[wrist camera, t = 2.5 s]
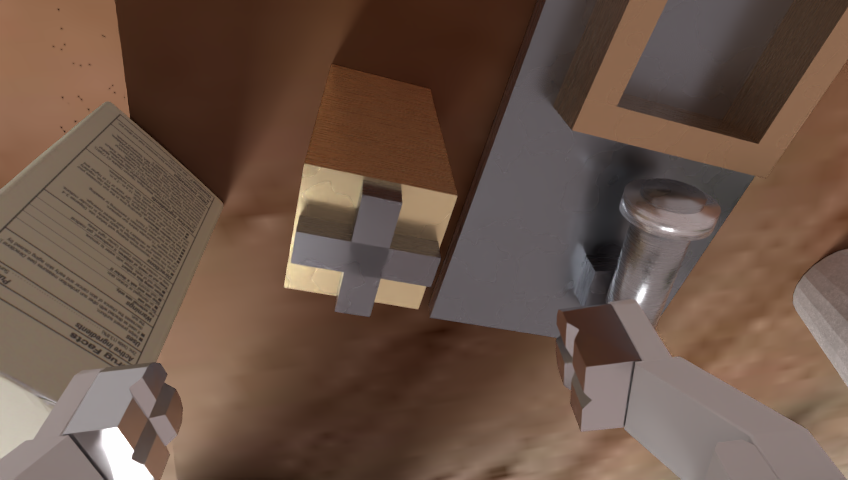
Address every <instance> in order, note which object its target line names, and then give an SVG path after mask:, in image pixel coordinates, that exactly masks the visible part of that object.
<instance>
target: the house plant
mask: <svg viewBox="0 0 848 480" xmlns="http://www.w3.org/2000/svg"><path fill="white" fill-rule="evenodd" d="M793 304H794V307H795V309H796V311H797V313H798V314H799V315H800V317H801V318H802V320H803V321H804V323H805V324H806V326H807V327H808V329H809V330H810V332H811V333H812V335H813V336H814V338H815V339H816V341H817V342H818V344H819V345H820V347H821V348H822V350H823V351H824V353H825V354H826V355H827V357H828V358H829V360H830V361H831V363H832V364H833V366H834V367H835V369H836V370H837V372H838V373H839V375H840V376H841V378H842V379H843V381H844V382H845V384H846V385H847V387H848V249H845V250H841V251H837V252H835V253H833V254H831V255H829V256H827V257H825V258H824V259H822V260H821V261H820V262H818V263H817V264H815V265H814V266H813V267H812V268H811V269H810V270H809V271H808V272H807V273H806V274H805V275H804V276H803V277H802V279H801V280H800V281H799V283H798V284H797V286H796V289H795V292H794V294H793Z"/></svg>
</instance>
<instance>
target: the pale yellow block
mask: <svg viewBox="0 0 848 480" xmlns="http://www.w3.org/2000/svg"><path fill="white" fill-rule="evenodd" d="M457 196H458V195H457V191H456V187H455V184H454V180H453V176H452V172H451V168H450V164H449V160H448V156H447V153H446V149H445V145H444V141H443V137H442V133H441V129H440V125H439V122H438V118H437V114H436V110H435V106H434V102H433V98H432V94H431V91H430V89H429V88H425V87H421V86H417V85H413V84H409V83H405V82H401V81H397V80H393V79H389V78H385V77H381V76H377V75H373V74H369V73H365V72H361V71H357V70H353V69H349V68H345V67H341V66H337V65H333V64H331V68H330V71H329V75H328V79H327V82H326V86H325V90H324V93H323V97H322V101H321V104H320V108H319V112H318V115H317V119H316V123H315V126H314V130H313V134H312V137H311V141H310V145H309V148H308V152H307V155H306V159H305V163H304V168H303V174H302V181H301V187H300V193H299V199H298V205H297V211H296V217H295V223H294V229H293V235H292V241H291V247H290V253H289V260H288V266H287V272H286V278H285V284H284V288H290V289H296V290H302V291H308V292H314V293H321V294H327V295H333V296H336V304H335V312H340V313H347V314H353V315H360V316H366V317H370V315H371V312H372V308H373V305H374V302H376V303H383V304H389V305H395V306H401V307H407V308H414V309H419V306H420V303H421V300H422V297H423V294H424V292H425V289H426V287H431V285H432V282H433V280H434V277H435V274H436V271H437V268H438V265H439V263H440V260H441V255H440V249H439V248H440V245H441V243H442V240H443V237H444V234H445V231H446V228H447V225H448V222H449V219H450V217H451V214H452V211H453V208H454V205H455V202H456V199H457Z"/></svg>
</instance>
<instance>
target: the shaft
mask: <svg viewBox="0 0 848 480" xmlns="http://www.w3.org/2000/svg"><path fill="white" fill-rule="evenodd" d="M619 209H620V212H621V214H622V216H623V217H624V218H625V219H626V220H627V221H628V222H630V224H629V227H628V231H627V234H626V237H625V240H624V243H623V246H622V249H621V252H620V255H586V257H585V261H584V264H583V268H582V271H581V275H580V279H579V282H578V286H577V289H576V293H575V295H576V297H577V299H578V301H579V303H580V305H581V306H587V305H594V304H601V303H608V302H614V301H621V300H628V299H634V300H636V301H637V302H638V304H639V305H640V307H641V308H642V310H643V312H644V313H645V315H646V316H647V318H648V320H649V321H650V323H651V324H652V326H653V328H654V329H655V328H656V325H657V323H658V320H659V318H660V315H661V313H662V310H663V308H664V306H665V303H666V301H667V298H668V296H669V293H670V291H671V288H672V286H673V283H674V281H675V278H676V276H677V273H678V271H679V268H680V266H681V263H682V261H683V258H684V256H685V254H686V251H687V249H688V246H689V244H690V241H693V240H700V239H703V238H706V237H708V236H709V235H710V234H712V232H713V230H714V227H715V225H716V223H717V220H718V218H719V216H720V213H721V208H720V206H719V204H718V203H717V202H716V201H715V200H714V199H713V198H712V197H711V196H709V195H708V194H706V193H704V192H703V191H701V190H699V189H697V188H695V187H694V186H692V185H689V184H687V183H684V182H681V181H677V180H672V179H665V178H643V179H637V180H633V181H631V182H629V183H628V184H627V185H626V186H625V189H624V192H623V195H622V199H621V202H620V206H619Z"/></svg>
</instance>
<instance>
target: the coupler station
mask: <svg viewBox="0 0 848 480" xmlns="http://www.w3.org/2000/svg"><path fill="white" fill-rule="evenodd" d="M847 60H848V0H537V2H536V5H535V8H534V11H533V14H532V16H531V19H530V22H529V25H528V28H527V30H526V33H525V36H524V39H523V42H522V44H521V47H520V50H519V53H518V56H517V58H516V61H515V64H514V67H513V70H512V72H511V75H510V78H509V81H508V84H507V86H506V89H505V92H504V95H503V98H502V100H501V103H500V106H499V109H498V111H497V114H496V117H495V120H494V123H493V125H492V128H491V131H490V134H489V137H488V139H487V142H486V145H485V148H484V151H483V153H482V156H481V159H480V162H479V165H478V167H477V170H476V173H475V176H474V179H473V181H472V184H471V187H470V190H469V193H468V195H467V198H466V201H465V204H464V207H463V209H462V212H461V215H460V218H459V221H458V223H457V226H456V229H455V232H454V235H453V237H452V240H451V243H450V246H449V248H448V251H447V254H446V257H445V260H444V262H443V265H442V268H441V271H440V274H439V276H438V279H437V282H436V285H435V288H434V290H433V293H432V296H431V299H430V302H429V304H428V306H429V314H430V318H436V319H442V320H448V321H455V322H461V323H467V324H474V325H480V326H486V327H492V328H499V329H505V330H511V331H517V332H524V333H530V334H536V335H542V336H549V337H555V338H558V337H559V336H560V335H561V334H560V332H559V329H558V327H557V324H556V323H557V313H558V310H559V309H565V308H572V307H579V306H581V305H580V303H579V301H578V299H577V297H576V295H575V293H576V289H577V286H578V282H579V279H580V275H581V271H582V268H583V264H584V261H585V257H586V255H620V252H621V249H622V246H623V243H624V240H625V237H626V234H627V231H628V227H629V224H630V222H628V221H627V220H626V219H625V218H624V217H623V216H622V214H621V212H620V209H619V206H620V202H621V199H622V195H623V192H624V189H625V186H626V185H627V184H628V183H629V182H631V181H633V180H637V179H643V178H665V179H672V180H677V181H681V182H684V183H687V184H689V185H692V186H694V187H695V188H697V189H699V190H701V191H703V192H704V193H706V194H708V195H709V196H711V197H712V198H713V199H714V200H715V201H716V202H717V203H718V204H719V206H720V208H721V213H720V216H719V218H718V220H717V223H716V225H715V227H714V230H713V232H712V234H710V235H709V236H708V237H706V238H703V239H700V240H693V241H690V244H689V246H688V249H687V251H686V254H685V256H684V258H683V261H682V263H681V266H680V268H679V271H678V273H677V276H676V278H675V281H674V283H673V286H672V288H671V291H670V293H669V296H668V298H667V301H666V303H665V306H664V308H663V310H662V313H663V312H664V310H665V309H666V308H667V306H668V305H669V303H670V302H671V300H672V299H673V297H674V296H675V294H676V293H677V291H678V290H679V288H680V287H681V285H682V284H683V282H684V281H685V279H686V278H687V276H688V275H689V273H690V272H691V270H692V269H693V267H694V266H695V264H696V263H697V261H698V260H699V258H700V257H701V256H702V254H703V253H704V251H705V250H706V248H707V247H708V245H709V244H710V242H711V241H712V239H713V238H714V236H715V235H716V233H717V232H718V230H719V229H720V227H721V226H722V224H723V223H724V221H725V220H726V218H727V217H728V215H729V214H730V212H731V211H732V209H733V208H734V206H735V205H736V204H737V202H738V201H739V199H740V198H741V196H742V195H743V193H744V192H745V190H746V189H747V187H748V186H749V184H750V183H751V181H752V180H753V178H754V177H755V176H758V177H762V178H766V177H767V176H768V175H769V173H770V172H771V170H772V169H773V167H774V166H775V164H776V163H777V161H778V160H779V158H780V157H781V156H782V154H783V153H784V151H785V150H786V148H787V147H788V145H789V144H790V142H791V141H792V140H793V138H794V137H795V135H796V134H797V132H798V131H799V129H800V128H801V126H802V125H803V124H804V122H805V121H806V119H807V118H808V116H809V115H810V113H811V112H812V110H813V109H814V108H815V106H816V105H817V103H818V102H819V100H820V99H821V97H822V96H823V94H824V93H825V92H826V90H827V89H828V87H829V86H830V84H831V83H832V81H833V80H834V78H835V77H836V76H837V74H838V73H839V71H840V70H841V68H842V67H843V65H844V64H845V62H846V61H847ZM662 313H661V315H662ZM661 315H660V316H661Z"/></svg>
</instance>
